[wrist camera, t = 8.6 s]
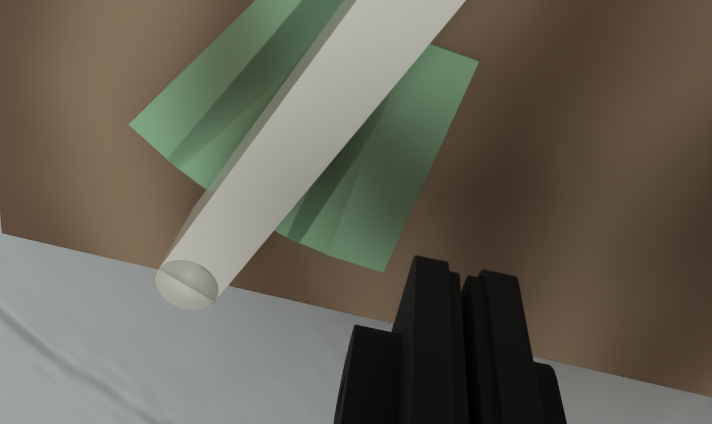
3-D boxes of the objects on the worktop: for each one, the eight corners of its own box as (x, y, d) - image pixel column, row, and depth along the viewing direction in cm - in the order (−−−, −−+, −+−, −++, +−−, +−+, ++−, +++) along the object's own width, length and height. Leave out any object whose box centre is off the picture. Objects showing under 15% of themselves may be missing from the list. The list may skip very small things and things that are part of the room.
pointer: (571, -395, 11) (630, -474, 8) (692, -259, 12) (784, -287, 9) (156, 209, 18) (109, 282, 15) (249, 267, 19) (221, 346, 16)
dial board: (1555, -279, 12) (1672, -290, 11) (863, 409, 22) (887, 440, 21) (-38, -810, 10) (-93, -889, 9) (22, 212, 20) (0, 234, 19)
